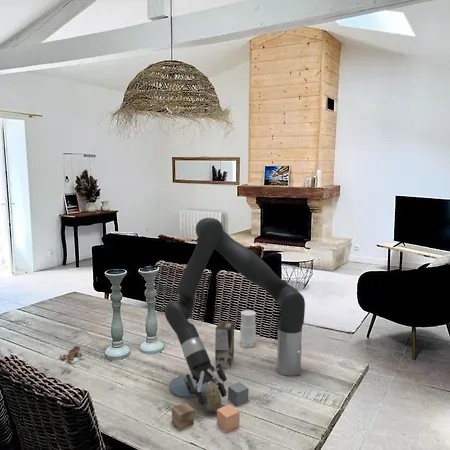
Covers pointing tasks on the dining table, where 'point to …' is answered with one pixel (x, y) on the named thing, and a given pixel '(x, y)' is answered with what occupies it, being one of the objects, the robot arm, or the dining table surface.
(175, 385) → the round blue platter
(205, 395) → the decorative egg
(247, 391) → the charcoal block
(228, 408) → the terracotta block
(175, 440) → the dining table surface
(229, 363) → the coffee box
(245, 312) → the candle
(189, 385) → the robot arm
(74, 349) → the frog figurine
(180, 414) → the walnut block
